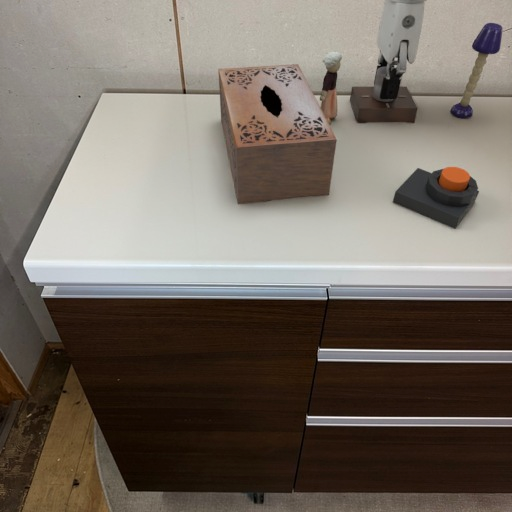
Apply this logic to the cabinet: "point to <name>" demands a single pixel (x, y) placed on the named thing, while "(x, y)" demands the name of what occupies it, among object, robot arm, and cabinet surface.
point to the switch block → (435, 197)
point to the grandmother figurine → (330, 86)
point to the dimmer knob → (380, 84)
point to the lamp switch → (454, 179)
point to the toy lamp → (478, 65)
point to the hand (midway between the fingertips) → (385, 91)
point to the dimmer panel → (382, 106)
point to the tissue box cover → (275, 134)
